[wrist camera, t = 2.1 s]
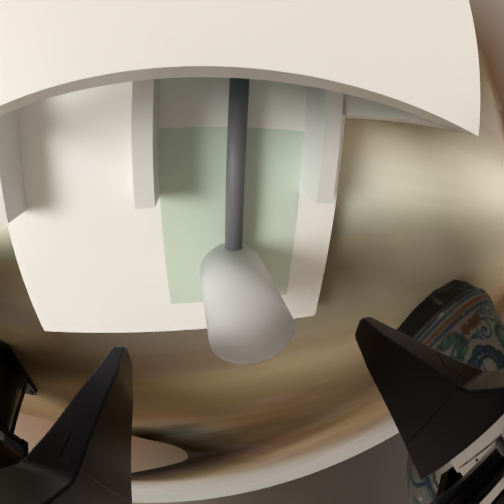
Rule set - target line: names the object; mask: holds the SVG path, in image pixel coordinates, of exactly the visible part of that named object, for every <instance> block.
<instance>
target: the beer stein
mask: <svg viewBox="0 0 504 504" xmlns="http://www.w3.org/2000/svg"><path fill="white" fill-rule="evenodd" d="M397 331H399V332H401V333H403V334H405V335H407V336H409V337H411V338H413V339H415V340H417V341H419V342H421V343H423V344H425V345H427V346H429V347H431V348H433V349H435V350H437V351H439V352H441V353H443V354H445V355H447V356H449V357H451V358H453V359H456V360H458V361H461V362H463V363H466V364H468V365H471V366H473V367H476V368H478V369H481V370H484V371H495V370H500V369H504V324H503V322H502V321H501V319H500V317H499V315H498V314H497V312H496V310H495V308H494V306H493V303H492V301H491V298H490V296H489V295H488V294H487V293H486V292H485V291H484V290H482V289H479V288H477V287H474V286H472V285H470V284H469V283H467V282H463V281H458V280H453V281H451V282H450V283H448V284H446V285H444V286H443V287H441V288H439V289H437V290H435V291H434V292H433V293H432V294H430V295H429V296H428V297H427V298H426V299H425V300H424V301H423V302H422V303H421V304H420V305H419V306H417V307H416V308H415V309H414V310H413V311H412V313H411V314H410V315H409V316H408V317H407V319H406V320H405V321H404V322H403V323H402V325H401V326H400V327H399V328H398V329H397ZM406 484H407V492H408V497H409V500H410V502H411V504H429V503H431V502H432V501H433V500H435V499H436V494H437V491H438V487H439V485H438V483H437V481H436V477H435V472H433V473H432V474H430V475H429V476H427V477H426V478H424V479H423V480H421V479H420V477H419V475H418V473H417V471H416V468H415V466H414V464H413V461H412V459H411V457H410V455H409V454H408V460H407V470H406ZM501 504H504V502H503V503H501Z"/></svg>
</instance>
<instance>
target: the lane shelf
mask: <svg viewBox="0 0 504 504" xmlns="http://www.w3.org/2000/svg"><path fill="white" fill-rule="evenodd" d="M230 78H244V79H249V99H248V119H247V140H246V163H245V187H244V212H243V240H242V243H243V244H246V245H248V246H250V247H252V248H253V249H254V250H255V251H256V252H257V253H258V255H259V256H260V258H261V260H262V262H263V264H264V265H265V267H266V269H267V271H268V273H269V275H270V276H271V278H272V280H273V282H274V284H275V286H276V288H277V289H278V291H279V293H280V295H281V297H282V299H283V301H284V302H285V304H286V306H287V308H288V310H289V312H290V313H291V315H292V317H293V319H295V318H302V317H308V316H315V313H316V308H317V304H318V299H319V295H320V290H321V285H322V280H323V275H324V270H325V265H326V260H327V254H328V249H329V243H330V237H331V231H332V225H333V219H334V212H335V206H336V198H337V191H338V183H339V175H340V167H341V158H342V148H343V137H344V126H345V118H355V119H370V120H382V121H393V122H401V123H409V124H417V125H423V126H430V127H436V128H441V129H446V130H452V131H456V132H461V133H465V134H470V135H474V136H479V121H480V74H479V60H478V50H477V42H476V35H475V29H474V24H473V18H472V13H471V8H470V4H469V0H0V225H3V224H8V229H9V233H10V237H11V241H12V245H13V248H14V252H15V255H16V259H17V262H18V265H19V268H20V271H21V274H22V277H23V280H24V283H25V286H26V289H27V291H28V294H29V296H30V299H31V301H32V304H33V306H34V309H35V311H36V313H37V316H38V318H39V320H40V322H41V325H42V327H43V329H44V331H53V332H85V333H122V332H156V331H176V330H192V329H205V328H207V324H206V317H205V310H204V302H203V294H202V286H201V278H200V267H201V263H202V261H203V259H204V257H205V256H206V255H207V254H208V252H209V251H211V250H212V249H213V248H215V247H217V246H219V245H221V244H224V243H225V200H226V157H227V128H228V104H229V84H230Z"/></svg>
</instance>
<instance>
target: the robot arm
mask: <svg viewBox="0 0 504 504" xmlns="http://www.w3.org/2000/svg"><path fill="white" fill-rule="evenodd" d="M355 337H356V340H357V343H358V345H359V348H360V350H361V353H362V355H363V358H364V360H365V363H366V365H367V368H368V370H369V372H370V374H371V376H372V378H373V380H374V382H375V384H376V386H377V387H378V389H379V391H380V393H381V395H382V397H383V399H384V401H385V403H386V405H387V408H388V410H389V412H390V414H391V416H392V418H393V420H394V422H395V424H396V426H397V428H398V430H399V433H400V435H401V437H402V439H403V441H404V443H405V446H406V448H407V450H408V452H409V455H410V457H411V459H412V461H413V464H414V466H415V468H416V471H417V473H418V475H419V477H420V479H421V480H423V479H424V478H426V477H427V476H429V475H430V474H432V473H433V472H435V471H436V470H438V469H439V468H441V467H442V466H444V465H445V464H447V463H448V462H449V461H450V462H451V464H452V465H453V466H452V467H451V468H449V469H448V470H447V471H446V472H444V473H443V474H442V475H441V479H440V483H439V487H438V491H437V494H436V499H435V500H433V501H432V502H431V503H429V504H501V503H503V502H504V369H500V370H495V371H484V370H481V369H478V368H476V367H473V366H471V365H468V364H466V363H463V362H461V361H458V360H456V359H453V358H451V357H449V356H447V355H445V354H443V353H441V352H439V351H437V350H435V349H433V348H431V347H429V346H427V345H425V344H423V343H421V342H419V341H417V340H415V339H413V338H411V337H409V336H407V335H405V334H403V333H401V332H399V331H397V330H395V329H393V328H391V327H389V326H387V325H385V324H383V323H381V322H379V321H377V320H375V319H373V318H372V317H366V318H362V319H361V320H360V322H359V325H358V327H357V330H356V333H355ZM25 393H26V394H31V395H36V394H37V389H36V388H35V387H34V385H33V384H32V382H31V381H30V380H29V378H28V377H27V375H26V374H25V372H24V371H23V369H22V368H21V366H20V365H19V363H18V362H17V360H16V359H15V357H14V355H13V354H12V352H11V350H10V349H9V347H8V346H6V345H5V344H0V504H132V493H131V433H132V414H133V388H132V363H131V360H130V357H129V354H128V351H127V349H126V347H125V346H114V347H113V348H112V349H111V351H110V352H109V353H108V354H107V356H106V357H105V358H104V359H103V361H102V362H101V363H100V364H99V366H98V367H97V368H96V370H95V371H94V372H93V373H92V375H91V376H90V377H89V379H88V380H87V381H86V382H85V384H84V385H83V386H82V388H81V389H80V390H79V392H78V393H77V394H76V396H75V397H74V398H73V400H72V401H71V402H70V404H69V405H68V406H67V408H66V409H65V412H63V413H62V414H61V416H60V417H59V419H58V420H57V421H56V422H55V424H54V425H53V426H52V428H51V429H50V430H49V431H48V432H47V434H46V435H45V436H44V437H43V438H42V439H41V441H40V442H39V443H38V444H37V445H36V446H35V447H34V448H33V449H32V451H31V452H30V453H29V454H28V443H27V442H26V441H25V440H23V439H20V438H19V437H18V436H16V435H15V434H14V430H15V426H16V422H17V418H18V415H19V411H20V408H21V404H22V401H23V398H24V395H25Z"/></svg>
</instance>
